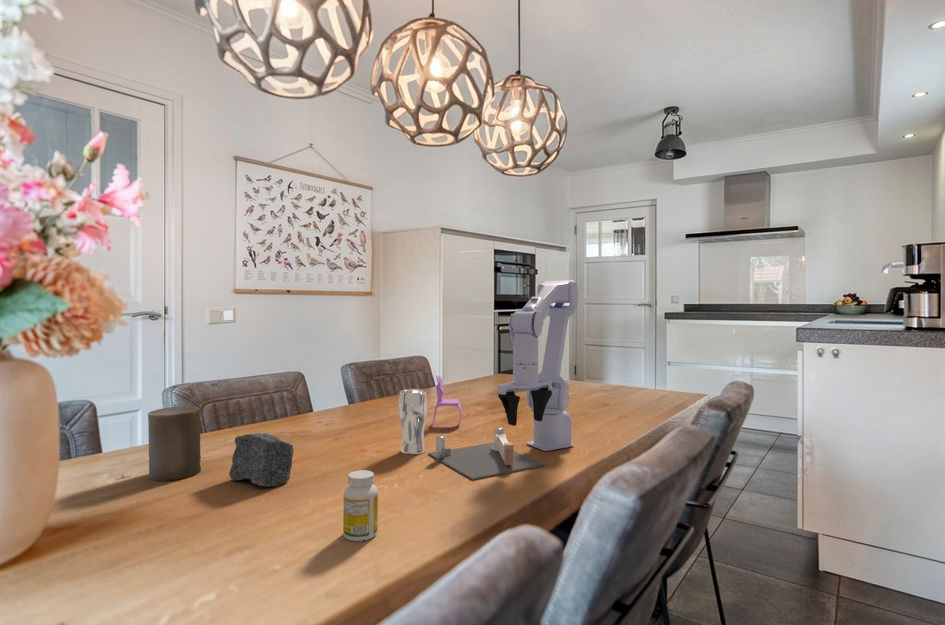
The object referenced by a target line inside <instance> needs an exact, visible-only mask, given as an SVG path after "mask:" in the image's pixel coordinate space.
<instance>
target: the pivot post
mask: <svg viewBox="0 0 945 625" xmlns="http://www.w3.org/2000/svg"><path fill="white" fill-rule="evenodd" d="M493 433H494V435H493V436H494V438H493V440H494V441H493V443H494V445H492V446H491V447H490V449H491V450H493V451H497V450H496V449H495V434H505V428H504V427H501V426H500V427H499V426H498V427H494V432H493Z"/></svg>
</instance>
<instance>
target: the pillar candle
mask: <svg viewBox="0 0 945 625" xmlns="http://www.w3.org/2000/svg"><path fill="white" fill-rule="evenodd" d="M200 411H201V410H200V407H199V406H196V405H195V406H194V405H190V406H189V405H185V406H184V405H183V406H179V405H178V406H177V404H175V403H174V406H171V407H164V408H158V409H155V410H152V411H149V412H148V413H147V421H148V422H147V423H148V472H149V473H148V476H149V479H150V480H151V481H155V482H165V481H166V482H168V481H174V480H176V481H177V480H181V479H186V478H190V477H193V476H196V475H197V474H199V473H200V472H201V471H202V469H201V468H202V467H201V461H202V460H201V412H200Z"/></svg>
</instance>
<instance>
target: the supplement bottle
mask: <svg viewBox="0 0 945 625" xmlns="http://www.w3.org/2000/svg"><path fill="white" fill-rule="evenodd" d="M347 478H348V479H347V483H348V486H347V487H346V488H345V489H344V491H343V517H342V518H343V520H342V521H343V529H342V530H343V533H342V534H343V537H344V538H345V539H346V540H348V541H351V542H364V541H363V540H365V541H368V539H369V540H370V539H373V538H374V537H375V536H376V535H377V534H378V526H379V525H378V524H379V523H378V520H379V518H378V516H379V514H378V512H379V489H378V487H377V486H376V485H375V484H374V481H375V473H374V472H373V471H371V470H363V469H362V470H361V469H360V470H355V471H351V472H349V474H348V475H347Z"/></svg>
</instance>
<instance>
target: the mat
mask: <svg viewBox="0 0 945 625" xmlns="http://www.w3.org/2000/svg"><path fill="white" fill-rule="evenodd" d="M492 445H494V442H489V443H483V444H477V445H476V444H475V445H471V446H463V447H457V448H451V455H448V456H445V459H443V460H440V462H441V463H442V464H443V465H445V466H447V467H449V468H450V469H452V470H454V471H456V472H458V473H459V474H461V475H462V476H464V477H466V478H468V479H469V480H471V481H476V480H482V479H485V478H491V477H497V476H500V475H501V476H502V475H506V474H510V473H511V472H512V473H517V472H521V471H526V470H532V469H536V468H537V469H538V468H542V467H545V465H546V464H545V463H543V462H540V461H538V460H536V459H533V458H531V457H529V456H526V455H524V454H521V453H519V452H517V451H515V450H514V460H513V465H505V463H504V461H503V459H502V457H501V455H500V453H499V451H493V450H491V449H490V447H491V446H492ZM428 456H429V457H431V458H432V459H435V460H436V451H432V452H428ZM440 462H439V463H440ZM541 466H542V467H541ZM531 468H532V469H531Z"/></svg>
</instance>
